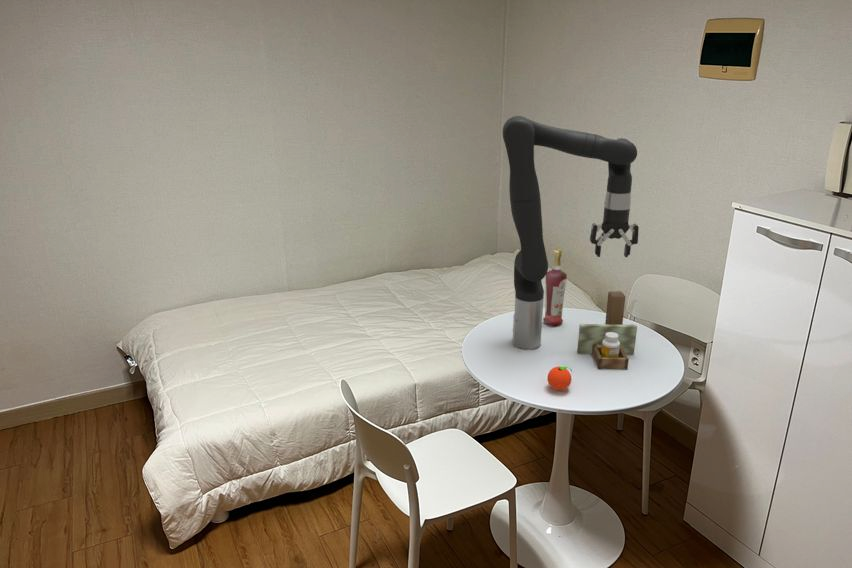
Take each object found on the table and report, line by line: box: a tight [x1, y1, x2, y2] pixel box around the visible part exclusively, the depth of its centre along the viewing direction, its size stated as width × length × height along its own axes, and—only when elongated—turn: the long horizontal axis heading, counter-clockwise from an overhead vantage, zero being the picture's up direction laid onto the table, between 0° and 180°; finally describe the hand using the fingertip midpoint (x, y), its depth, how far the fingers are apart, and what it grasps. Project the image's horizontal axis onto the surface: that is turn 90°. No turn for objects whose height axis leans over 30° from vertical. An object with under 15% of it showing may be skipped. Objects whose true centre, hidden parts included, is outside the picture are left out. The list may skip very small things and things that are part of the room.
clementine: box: [547, 366, 573, 391], centre depth 181 cm, size 8×7×7 cm
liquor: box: [543, 248, 568, 327], centre depth 220 cm, size 7×7×28 cm
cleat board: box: [576, 323, 638, 370], centre depth 196 cm, size 18×12×10 cm, turn 87°
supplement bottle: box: [601, 332, 620, 358], centre depth 195 cm, size 5×5×10 cm
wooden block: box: [604, 290, 626, 325], centre depth 206 cm, size 9×4×18 cm, turn 92°
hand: (612, 256), depth 195 cm, fingers open, 8 cm apart
